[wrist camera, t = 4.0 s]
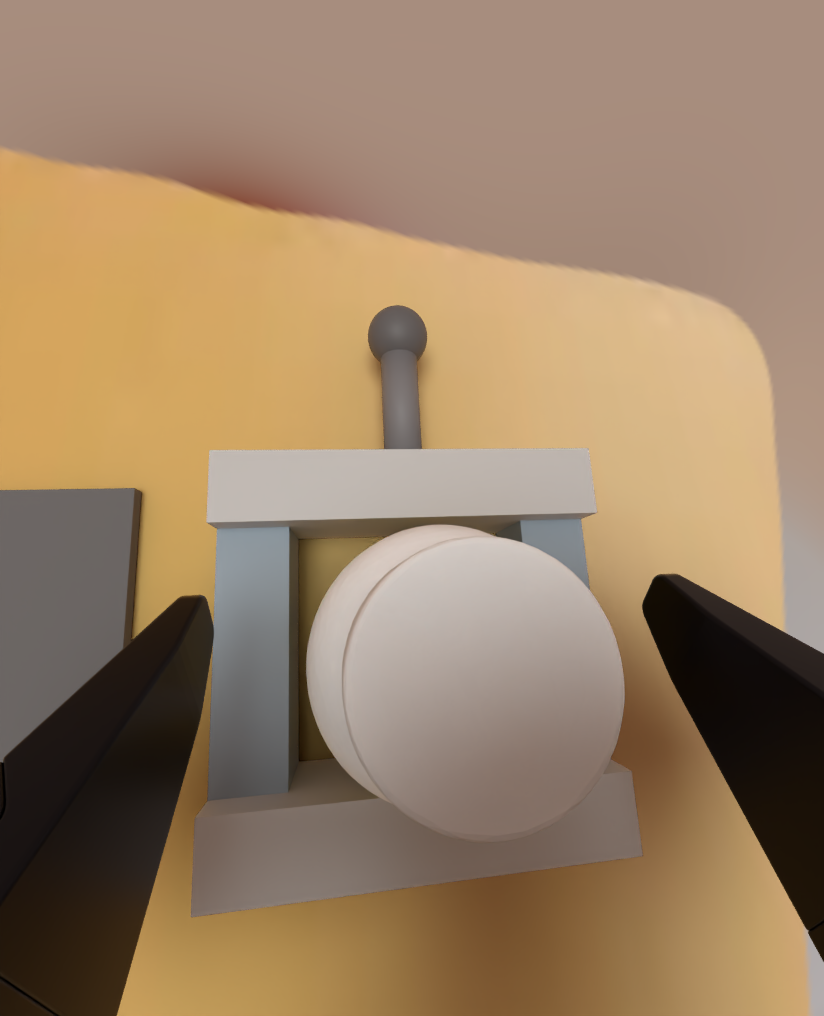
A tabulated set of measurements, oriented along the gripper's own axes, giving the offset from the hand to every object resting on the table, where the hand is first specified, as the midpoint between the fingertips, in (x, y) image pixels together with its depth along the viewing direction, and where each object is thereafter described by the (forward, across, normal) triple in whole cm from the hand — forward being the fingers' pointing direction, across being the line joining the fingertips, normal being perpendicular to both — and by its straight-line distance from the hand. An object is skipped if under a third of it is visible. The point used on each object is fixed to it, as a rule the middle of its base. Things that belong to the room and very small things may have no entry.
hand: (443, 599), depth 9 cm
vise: (+6, 0, +4) cm, 7 cm away
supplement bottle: (+4, 0, +6) cm, 7 cm away
